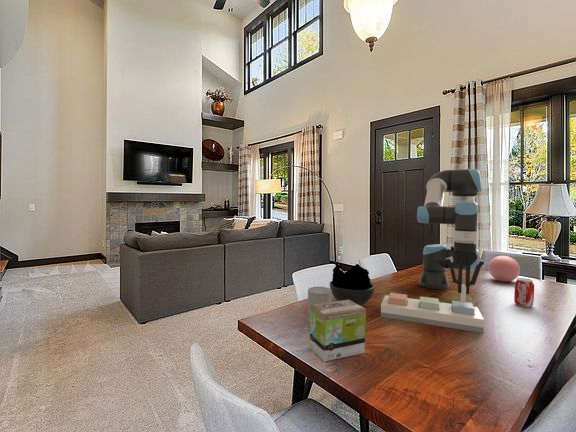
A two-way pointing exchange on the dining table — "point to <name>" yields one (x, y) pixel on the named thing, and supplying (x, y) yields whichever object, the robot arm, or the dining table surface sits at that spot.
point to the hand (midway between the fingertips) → (462, 301)
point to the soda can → (524, 292)
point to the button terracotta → (397, 299)
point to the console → (433, 315)
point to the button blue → (463, 308)
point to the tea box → (337, 329)
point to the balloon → (504, 268)
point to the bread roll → (455, 297)
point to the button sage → (429, 303)
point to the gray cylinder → (318, 297)
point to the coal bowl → (352, 285)
